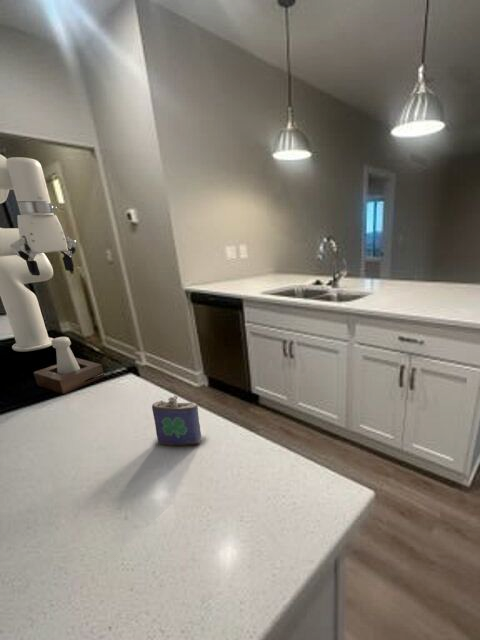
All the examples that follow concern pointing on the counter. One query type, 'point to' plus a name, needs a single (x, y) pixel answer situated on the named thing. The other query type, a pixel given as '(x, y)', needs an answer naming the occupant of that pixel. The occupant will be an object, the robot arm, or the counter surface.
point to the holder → (69, 377)
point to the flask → (177, 423)
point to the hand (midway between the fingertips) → (53, 272)
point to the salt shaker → (64, 356)
